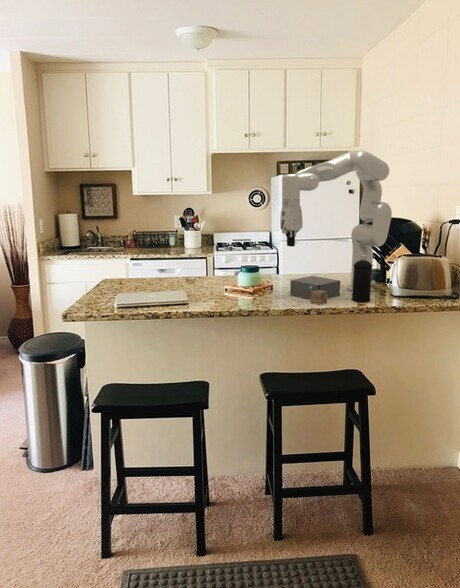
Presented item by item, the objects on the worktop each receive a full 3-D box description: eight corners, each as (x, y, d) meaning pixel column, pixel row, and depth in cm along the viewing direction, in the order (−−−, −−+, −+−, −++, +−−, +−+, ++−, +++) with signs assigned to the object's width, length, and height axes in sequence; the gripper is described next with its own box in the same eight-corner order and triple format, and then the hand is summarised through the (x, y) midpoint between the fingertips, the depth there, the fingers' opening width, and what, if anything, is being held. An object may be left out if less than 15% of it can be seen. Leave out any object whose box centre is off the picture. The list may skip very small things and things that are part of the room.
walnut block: (317, 300, 227) (318, 289, 226) (326, 302, 223) (327, 291, 222) (310, 302, 223) (310, 291, 222) (319, 304, 220) (320, 293, 219)
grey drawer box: (312, 290, 249) (312, 275, 248) (339, 295, 238) (340, 280, 236) (291, 294, 239) (291, 279, 237) (319, 300, 228) (319, 285, 226)
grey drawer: (311, 289, 248) (311, 276, 246) (337, 295, 237) (337, 280, 236) (289, 294, 237) (289, 280, 236) (315, 300, 226) (316, 285, 225)
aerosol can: (374, 301, 227) (377, 256, 223) (360, 303, 223) (363, 257, 219) (361, 297, 234) (363, 253, 230) (347, 299, 230) (349, 254, 226)
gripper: (286, 204, 213) (286, 248, 218) (308, 202, 223) (308, 244, 228) (272, 204, 219) (272, 247, 223) (295, 202, 229) (295, 243, 233)
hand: (290, 245), depth 225 cm, fingers closed
